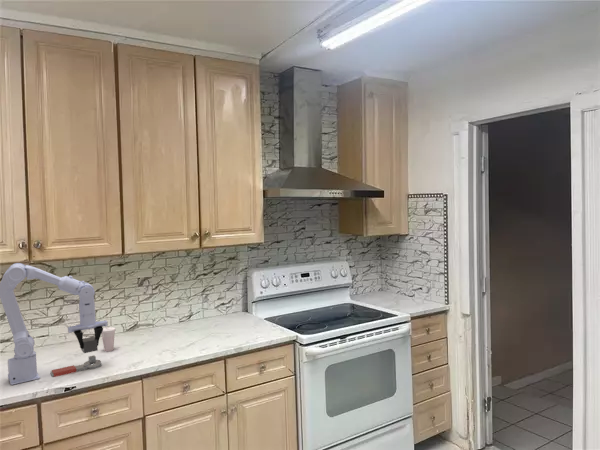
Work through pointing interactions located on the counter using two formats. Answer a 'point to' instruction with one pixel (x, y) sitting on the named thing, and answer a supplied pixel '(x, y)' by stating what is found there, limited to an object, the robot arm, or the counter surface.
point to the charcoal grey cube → (89, 345)
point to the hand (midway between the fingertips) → (89, 346)
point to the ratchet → (77, 367)
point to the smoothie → (108, 338)
